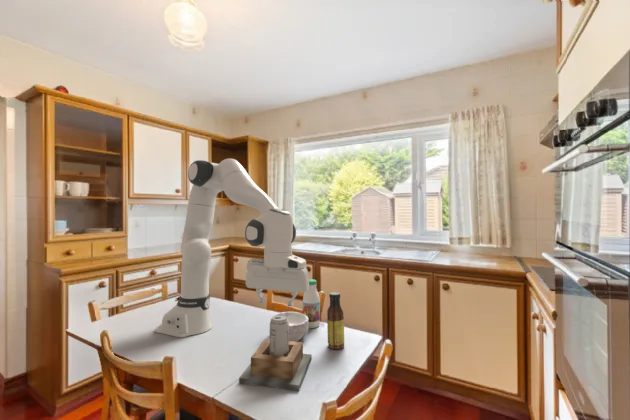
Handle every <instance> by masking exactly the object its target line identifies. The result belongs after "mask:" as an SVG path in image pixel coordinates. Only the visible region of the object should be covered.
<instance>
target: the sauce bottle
mask: <svg viewBox="0 0 630 420" xmlns="http://www.w3.org/2000/svg"><path fill="white" fill-rule="evenodd" d="M328 296H329V307H328V308H327V311H326V312H327V313H326V314H327V319H326V321H327V324H326V325H327V344H328V347H329V348H330V349H333V350H341V349H343V348H344V346H345V323H344V322H345V319H344V318H345V317H344V311H343V309H342V307H341V306H342V305H341V300H340V299H341V293H340V292H338V291H332V292H329V294H328Z"/></svg>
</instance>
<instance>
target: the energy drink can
mask: <svg viewBox="0 0 630 420" xmlns="http://www.w3.org/2000/svg"><path fill="white" fill-rule="evenodd" d="M274 315H275V314H274ZM272 316H273V315H272ZM272 316H271V317H272ZM270 320H271V319H270ZM269 339H270V346H269V355H274V356H283V357H287V356H288V353H289V322H288V320H287V317H286V316H285V315H275V316H273V317H272V320H271V322H269Z"/></svg>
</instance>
